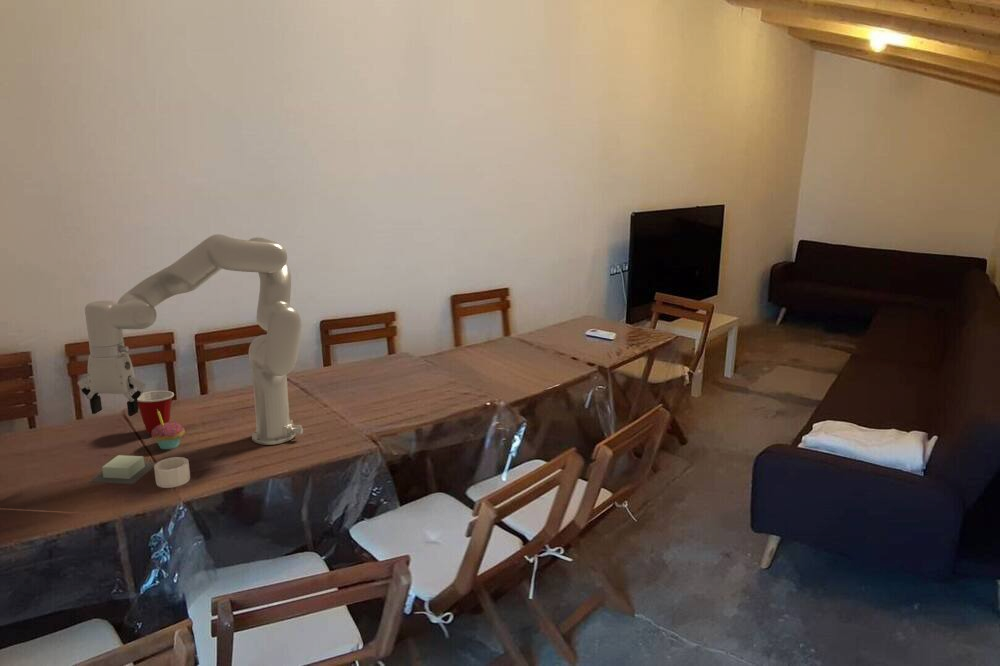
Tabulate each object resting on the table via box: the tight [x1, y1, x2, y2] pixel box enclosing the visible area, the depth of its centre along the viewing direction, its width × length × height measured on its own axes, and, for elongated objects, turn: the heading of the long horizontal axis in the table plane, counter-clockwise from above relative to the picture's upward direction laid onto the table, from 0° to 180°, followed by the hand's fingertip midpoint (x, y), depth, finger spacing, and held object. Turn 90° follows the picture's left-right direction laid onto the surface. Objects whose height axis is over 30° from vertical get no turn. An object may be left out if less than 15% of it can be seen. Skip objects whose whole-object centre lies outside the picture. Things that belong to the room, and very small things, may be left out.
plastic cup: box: [137, 390, 175, 435], centre depth 202 cm, size 11×11×12 cm
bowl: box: [153, 456, 191, 489], centre depth 173 cm, size 8×8×5 cm
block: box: [101, 454, 145, 479], centre depth 177 cm, size 7×7×3 cm
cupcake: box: [150, 409, 186, 450], centre depth 192 cm, size 9×8×12 cm
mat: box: [88, 461, 157, 485], centre depth 177 cm, size 12×12×1 cm
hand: (115, 413), depth 172 cm, fingers open, 9 cm apart
